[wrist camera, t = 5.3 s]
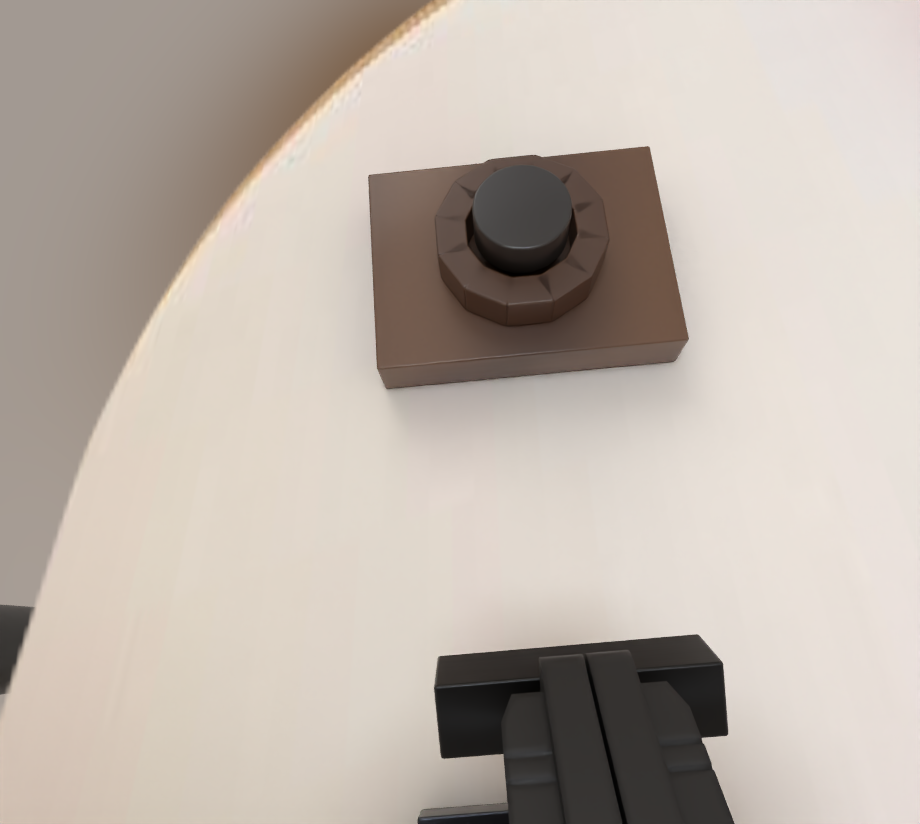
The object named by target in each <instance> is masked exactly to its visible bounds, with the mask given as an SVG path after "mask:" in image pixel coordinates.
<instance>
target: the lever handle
mask: <svg viewBox="0 0 920 824" xmlns="http://www.w3.org/2000/svg"><path fill="white" fill-rule="evenodd" d="M619 650H629V651H630V653H631V655H632V658H633V661H634V664H635V667H636V670H637V673H638V676H639V680H640V683H649V682H661V681H667V682H668V683H669V684H670V685H671V686H672V687H673V689H674V690H675V691H676V692H677V693H678V694H679V695H680V696H681V697H682V699H683V700H684V701H685V702H686V703H687V704H688V705H689V706H690V709H691V711H692V714H693V716H694V719H695V722H696V724H697V727H698V730H699V732H700V735H701V737H702V738H704V737H716V736H727V735H728V723H727V710H726V696H725V683H724V670H723V663H722V661H721V660H720V659H719V658H718V657H717V655H716V654H715V653H714V652H713V651H712V650H711V649H710V647H709V646H708V645H707V644H706V643H705V642H704V640H703V639H702V638H701V637H700V636H699V635H685V636H673V637H661V638H650V639H638V640H626V641H614V642H603V643H591V644H579V645H567V646H555V647H544V648H532V649H520V650H508V651H497V652H485V653H473V654H461V655H449V656H440V657H438V661H437V669H436V677H435V685H434V692H435V702H436V712H437V722H438V732H439V742H440V753H441V757H442V758H444V759H445V758H458V757H470V756H482V755H495V754H504V753H503V741H502V729H501V721H502V718H503V715H504V713H505V710H506V707H507V705H508V702H509V699H510V697H511V694H520V693H532V692H541V691H540V675H539V657H551V656H563V655H575V654H582V655H583V658H584V654H585V653H596V652H608V651H619Z"/></svg>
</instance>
